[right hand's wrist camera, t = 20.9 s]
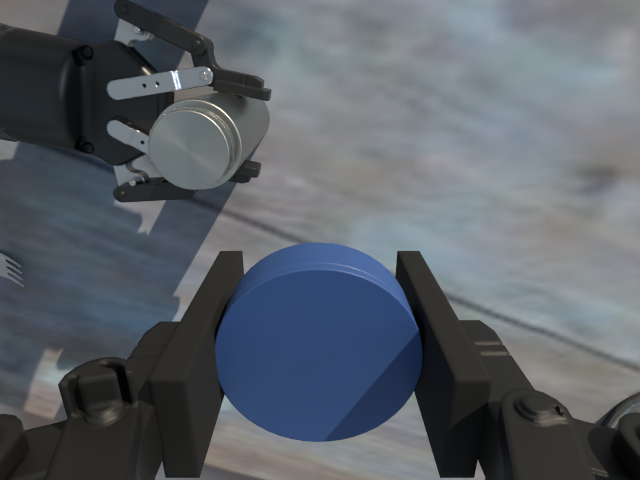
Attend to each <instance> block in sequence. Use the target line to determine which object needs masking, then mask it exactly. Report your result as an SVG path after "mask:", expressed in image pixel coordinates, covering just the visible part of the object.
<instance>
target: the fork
mask: <svg viewBox="0 0 640 480" xmlns="http://www.w3.org/2000/svg"><path fill="white" fill-rule="evenodd" d="M5 259H6V260H9V261H10V262H12V263H14V264H16V265H17V266H18V267H21V265H19V264H18V263H17V262H15V261H14V260H12V259H11V258H9V257H8V256H6V255H4V254H2V253H0V276H3V277H6V278H8V279H11V280H12V281H14V282H16V283H17V284H19V285H20V286H21V287H24V285H22V284H21V283H20V282H19V281H17V280H16V279H14V278H13V277H11V276H10V275H9V274H8V273H10V274H12V275H14V276H16V277H17V278H19V279H20V280H23V279H22V278H21V277H20V276H18V275H17V274H16V273H14V272H13V271H11V270H10V269H8V268H7V267H6V266H8V267H10V268H12V269H14V270H16V271H17V272H19V273H20V274H21V273H22V272H21V271H19V270H18V269H17V268H15V267H14V266H13V265H11V264H9V263H8V262H7V261H6V260H5ZM7 272H8V273H7Z"/></svg>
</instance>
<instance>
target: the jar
mask: <svg viewBox="0 0 640 480" xmlns="http://www.w3.org/2000/svg"><path fill="white" fill-rule="evenodd" d="M268 126H269V112H268V109H267V106H266V104H265V103H264V101H263V100H259V99H254V98H249V97H244V96H239V95H234V94H230V93H224V92H217V93H213V94H208V95H204V96H199V97H195V98H190V99H186V100H182V101H178V102H176V103H173V104H172V105H170V106H168V107H167V108H166V109H165V110H164V111H163V112H162V113H161V114H160V115H159V117H158V118H157V120H156V121H155V123H154V125H153V127H152V129H151V130H150V134H149V139H148V141H147V142H148V155H149V157H150V160H151V163H153V164H154V166H155V167H156V169H157V170H158V172H159V173H160V174H161V175H162V176H163V177H164V178H165V179H166V180H167V181H169V182H170V183H172V184H174V185H176V186H178V187H180V188H184V189H189V190H198V189H201V190H204V189H211V188H215V187H218V186H220V185H222V184H224V183H225V182H227V181H228V180H229V179H230V178H231V177H232V176H233V175H234V173H235V172H236V171H237V170H238V168H239V167H240V166H241V165H242V163H243V162H244V161H245V159H246V158H247V157H248V156H249V154H250V153H251V152H252V151H253V149H254V148H255V147H256V145H257V144H258V143H259V142H260V140H261V139H262V138H263V136H264V135H265V134H266V132H267V129H268Z"/></svg>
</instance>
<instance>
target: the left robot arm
mask: <svg viewBox="0 0 640 480" xmlns="http://www.w3.org/2000/svg"><path fill="white" fill-rule="evenodd" d="M114 10H115V13H116V15H117V16H118V17H119V22H118V25H117V29H116V33H115V37H114V40H109V41H106V42H104V43H100V44H94V43H89V42H84V41H80V40H75V39H70V38H65V37H60V36H55V35H51V34H46V33H41V32H36V31H31V30H27V29H22V28H17V27H12V26H9V25H5V24H2V23H0V139H2V140H7V141H13V142H17V141H20V142H26V143H31V144H37V145H42V146H47V147H53V148H58V149H64V150H69V151H74V152H80V153H85V154H91V155H95V156H97V157H99V158H101V159H103V160H104V161H105V162H107V163H108V164H110V165H113V167H114V171H115V175H116V179H117V184H118V187H117V188H115V189H114V192H113V194H114V197H115V199H116V200H118V201H119V202H139V201H157V200H176V199H189V198H191V197H192V196H193V195H194V194H195V192H196V191H198V190H199V189H198V190H189V189H184V188H180V187H178V186H176V185H174V184H172V183H170V182H169V181H167V180H166V179H165V178H164V177H156V178H149V177H148V175H147V173H146V172H144V171H142V170H137V169H135V168H133V167H132V165H131V163H130V162H131V161H133V160H135V159H137V158H139V157H141V156H143V155H145V154H147V155H148V142H147V141H148V139H149V134H150V130H151V129H152V127H153V125H154V123H155V121H156V120H157V118H158V117H159V115H160V114H161V113H162V112H163V111H164V110H165V109H166V108H167V107H168V106H170V105H172V104H173V103H174V92H172V91H178V90H184V89H190V88H196V87H202V86H211V87H214V91H219V92H224V93H230V94H234V95H239V96H244V97H249V98H254V99H259V100H264V101H269V100H270V97H271V89H267V88H263V87H264V80H262V79H261V78H259V77H258V76H253V75H249V74H244V73H239V72H234V71H229V70H225V69H222V68H220V67H219V66H218V65H217V63H216V61H215V57H214V52H213V50H214V46H213V43H212V41H211V40H210V39H208V38H206V37H204V36H202V35H200V34H198V33H196V32H194V31H192V30H190V29H188V28H186V27H184V26H182V25H180V24H178V23H176V22H174V21H172V20H170V19H168V18H166V17H164V16H162V15H160V14H158V13H156V12H154V11H152V10H150V9H148V8H146V7H144V6H142V5H140V4H137V3H134V2H132V1H129V0H117V1H116V2H115V5H114ZM154 36H157V37H159V38H161V39H163V40H165V41H167V42H169V43H171V44H173V45H175V46H177V47H180V48H182V49H184V50H186V51H188V52H190V53H191V56H192V60H193V64H194V68H189V69H183V70H177V71H169V72H162V73H159V72H158V71H157V70H156V69H155V68H154V67H153V66H152V65H151V64H150V63H149V62H148V61H147V60H146V59H145V58H144V57H143V56H142V55H141V54H140V53H139V52H138V51H137V50H136V49H135V48H134V47H133V45H134V43H135V42H137V41H144V42H150V41H152V40H153V38H154ZM260 169H261V163H258V162H254V161H249V160H245V161H244V162H243V163H242V165H241V166H240V167H239V168H238V170H237V171H236V172H235V173H234V175H233V176H232V177H231V178H230V179H229V180H228V181H232V182H238V183H246V182H249V181H250V179H251V177H258V176H259V174H260Z"/></svg>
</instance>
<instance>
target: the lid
mask: <svg viewBox="0 0 640 480" xmlns="http://www.w3.org/2000/svg"><path fill="white" fill-rule="evenodd" d="M215 355H216V364H217V373H218V381H219V384H220V386H221V388H222V390H223V392H224V394H225V395H226V396H227V398H228V399H229V401H230V402H231V403H232V405H233V406H234V407H235V408H236V409H237V410H238V411H239V412H240V413H241V414H242V415H244V416H245V417H246V418H247V419H248V420H250V421H251V422H253V423H254V424H256V425H257V426H259V427H261V428H263V429H265V430H267V431H269V432H272V433H274V434H277V435H279V436H283V437H287V438H290V439H295V440H302V441H313V442H323V441H335V440H342V439H346V438H350V437H354V436H357V435H360V434H363V433H366V432H368V431H370V430H372V429H374V428H376V427H378V426H379V425H381V424H383V423H384V422H386V421H387V420H388V419H390V418H391V417H392V416H393V415H395V414H396V413H397V412H398V411H399V410H400V409H401V408H402V407H403V406H404V404H405V403H406V402H407V400H408V399H409V398H410V396H411V395H412V393H413V391H414V389H415V388H416V385H417V383H418V380H419V377H420V374H421V370H422V365H423V346H422V339H421V336H420V332H419V329H418V326H417V324H416V321H415V319H414V316H413V314H412V311H411V309H410V306H409V303H408V301H407V298H406V296H405V294H404V292H403V289H402V288H401V286H400V284H399V283H398V281H397V280H396V278H395V277H394V276H393V275H392V274H391V273H390V271H389V270H388V269H386V268H385V267H384V266H383V265H382V264H381V263H379V262H378V261H376V260H375V259H373V258H372V257H370V256H369V255H367V254H365V253H363V252H360V251H358V250H356V249H353V248H350V247H347V246H342V245H337V244H331V243H306V244H300V245H294V246H291V247H287V248H284V249H281V250H279V251H277V252H274V253H272V254H270V255H268V256H267V257H265V258H263V259H262V260H260V261H259V262H258V263H256V264H255V265H254V266H253V267H251V268H250V270H249V271H248V272H247V273H246V274H245V275H244V276H243V277H242V279H241V280H240V281H239V283H238V284H237V286H236V288H235V290H234V292H233V294H232V296H231V298H230V301H229V303H228V306H227V308H226V311H225V313H224V316H223V318H222V321H221V323H220V326H219V328H218V331H217V335H216V338H215Z"/></svg>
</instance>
